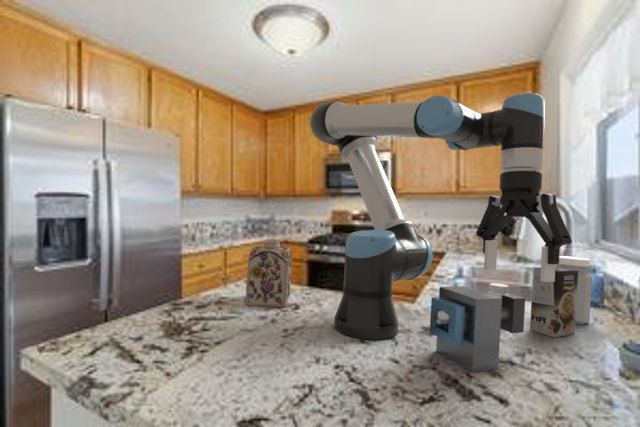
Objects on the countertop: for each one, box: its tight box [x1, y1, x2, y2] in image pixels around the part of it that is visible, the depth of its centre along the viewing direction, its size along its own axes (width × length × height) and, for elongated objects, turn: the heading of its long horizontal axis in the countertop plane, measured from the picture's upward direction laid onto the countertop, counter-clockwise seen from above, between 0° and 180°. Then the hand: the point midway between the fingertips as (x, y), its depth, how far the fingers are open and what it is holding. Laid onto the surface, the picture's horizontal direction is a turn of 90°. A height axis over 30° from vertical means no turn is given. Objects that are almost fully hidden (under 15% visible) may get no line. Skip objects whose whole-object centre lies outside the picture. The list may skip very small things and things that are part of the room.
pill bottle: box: [486, 282, 510, 298], centre depth 96 cm, size 6×6×10 cm
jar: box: [555, 255, 593, 325], centre depth 101 cm, size 10×10×18 cm
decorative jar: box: [245, 240, 293, 308], centre depth 103 cm, size 12×12×18 cm
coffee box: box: [529, 266, 578, 338], centre depth 89 cm, size 9×6×16 cm
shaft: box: [434, 294, 526, 334], centre depth 69 cm, size 20×3×7 cm, turn 109°
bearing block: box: [435, 285, 502, 373], centre depth 68 cm, size 6×10×13 cm, turn 19°
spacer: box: [429, 296, 465, 346], centre depth 67 cm, size 2×7×7 cm, turn 20°
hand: (516, 275), depth 72 cm, fingers open, 13 cm apart
